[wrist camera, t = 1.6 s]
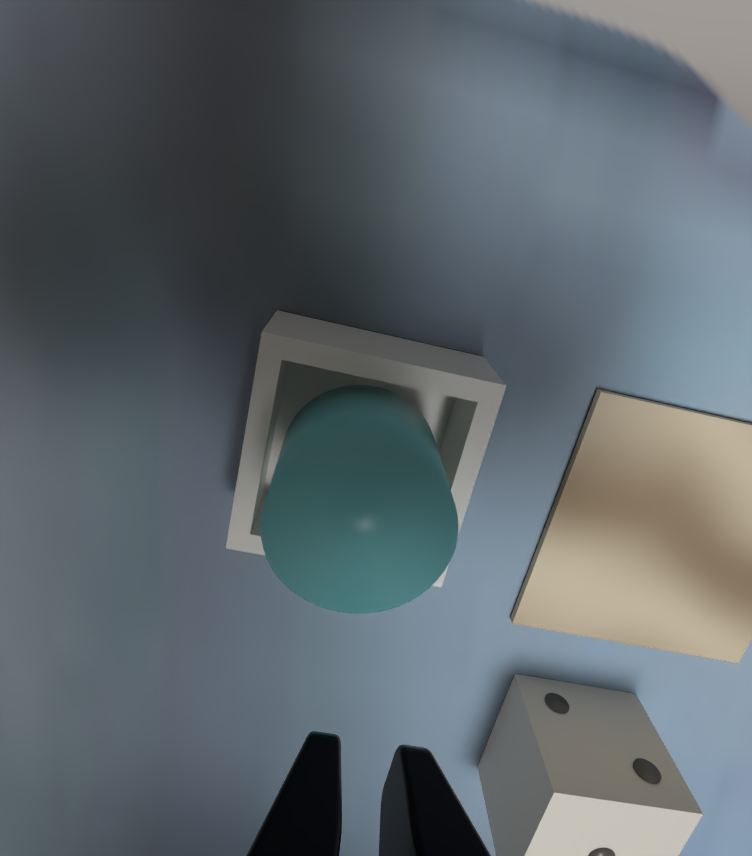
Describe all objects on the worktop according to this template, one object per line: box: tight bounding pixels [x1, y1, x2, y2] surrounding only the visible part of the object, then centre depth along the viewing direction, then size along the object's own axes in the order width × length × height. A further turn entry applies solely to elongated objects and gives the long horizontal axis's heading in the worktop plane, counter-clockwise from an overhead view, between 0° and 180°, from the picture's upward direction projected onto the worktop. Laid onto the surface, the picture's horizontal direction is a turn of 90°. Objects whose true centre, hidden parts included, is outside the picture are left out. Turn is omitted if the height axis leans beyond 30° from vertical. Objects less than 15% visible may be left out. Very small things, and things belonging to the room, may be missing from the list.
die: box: [478, 674, 703, 856], centre depth 22 cm, size 5×5×5 cm
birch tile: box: [510, 389, 752, 663], centre depth 21 cm, size 9×9×1 cm
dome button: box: [260, 385, 458, 613], centre depth 15 cm, size 4×4×4 cm
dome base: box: [226, 310, 507, 587], centre depth 18 cm, size 6×6×3 cm
